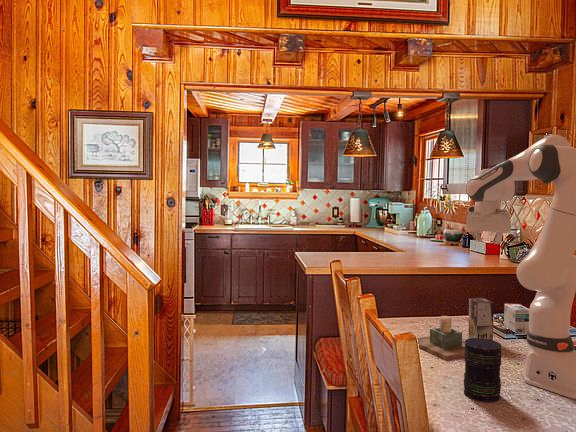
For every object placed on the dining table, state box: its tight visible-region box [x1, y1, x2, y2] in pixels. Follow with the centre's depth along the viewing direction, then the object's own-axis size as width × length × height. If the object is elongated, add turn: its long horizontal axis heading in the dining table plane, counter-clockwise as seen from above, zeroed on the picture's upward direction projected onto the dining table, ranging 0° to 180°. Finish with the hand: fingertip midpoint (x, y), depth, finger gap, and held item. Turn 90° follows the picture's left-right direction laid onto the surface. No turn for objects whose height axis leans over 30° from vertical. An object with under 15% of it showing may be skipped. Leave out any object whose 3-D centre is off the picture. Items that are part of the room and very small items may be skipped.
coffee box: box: [468, 297, 495, 341], centre depth 184 cm, size 9×6×16 cm
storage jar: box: [463, 338, 503, 403], centre depth 135 cm, size 10×10×15 cm
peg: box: [439, 315, 452, 334], centre depth 176 cm, size 4×4×10 cm
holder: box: [416, 327, 465, 361], centre depth 176 cm, size 20×18×6 cm
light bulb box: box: [503, 303, 530, 335], centre depth 196 cm, size 11×7×11 cm, turn 179°
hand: (487, 242), depth 194 cm, fingers open, 8 cm apart
